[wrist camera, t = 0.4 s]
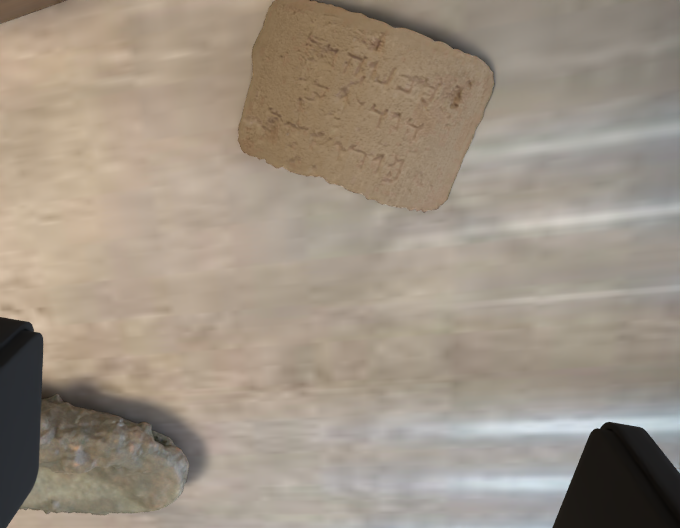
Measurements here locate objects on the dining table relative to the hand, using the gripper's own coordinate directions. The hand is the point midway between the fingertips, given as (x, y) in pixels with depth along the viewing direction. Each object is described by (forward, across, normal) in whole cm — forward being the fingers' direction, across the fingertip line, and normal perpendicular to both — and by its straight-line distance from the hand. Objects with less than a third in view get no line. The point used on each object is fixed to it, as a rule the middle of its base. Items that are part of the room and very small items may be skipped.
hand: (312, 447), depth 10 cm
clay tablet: (+31, -2, -3) cm, 31 cm away
